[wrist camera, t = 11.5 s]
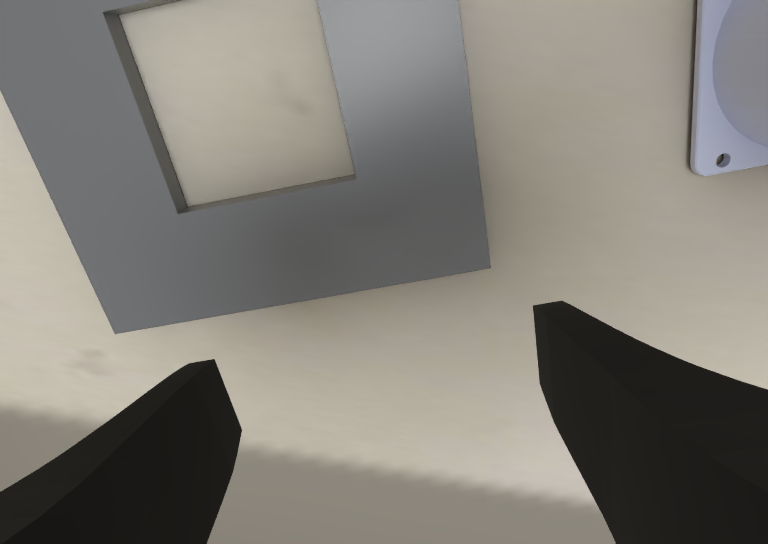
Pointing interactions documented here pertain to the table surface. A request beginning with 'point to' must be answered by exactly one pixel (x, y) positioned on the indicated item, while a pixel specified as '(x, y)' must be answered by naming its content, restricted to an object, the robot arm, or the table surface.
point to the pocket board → (262, 210)
